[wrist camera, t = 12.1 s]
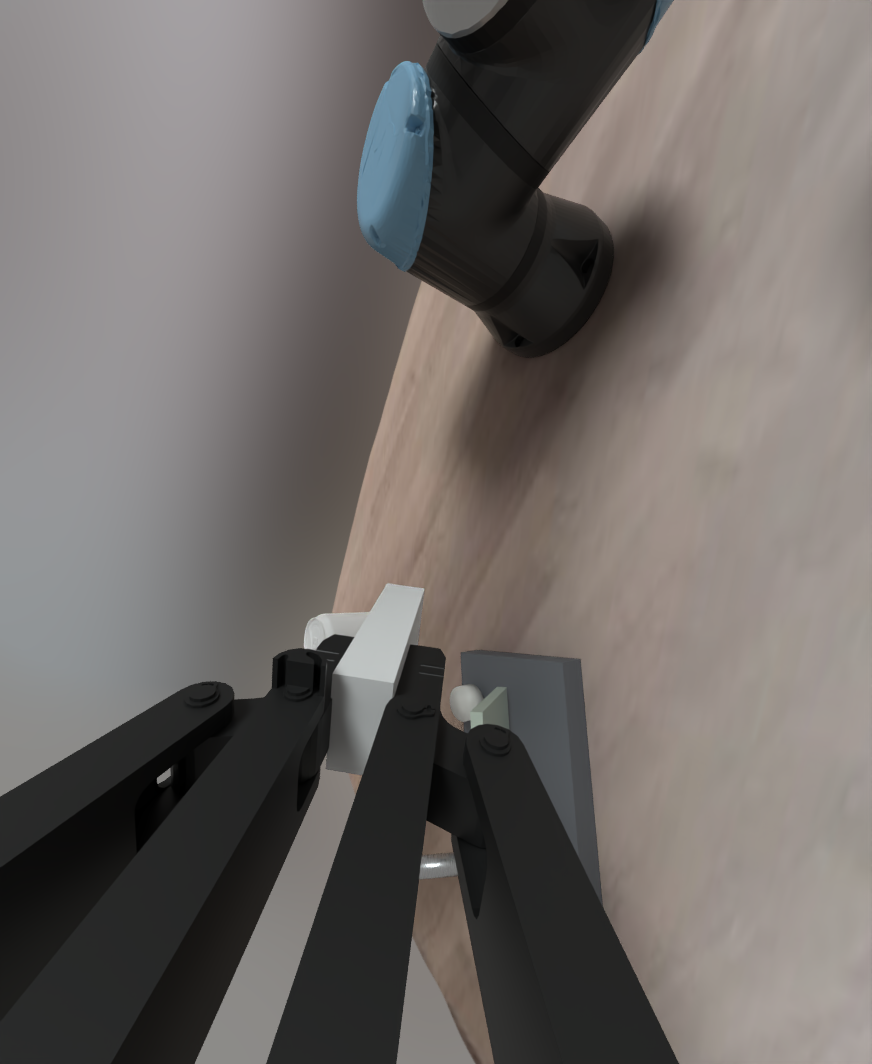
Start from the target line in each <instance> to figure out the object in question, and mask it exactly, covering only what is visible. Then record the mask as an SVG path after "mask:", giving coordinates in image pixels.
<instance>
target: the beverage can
mask: <svg viewBox="0 0 872 1064" xmlns="http://www.w3.org/2000/svg"><path fill="white" fill-rule="evenodd" d="M369 613H370V612H356V613H332V614H321V615H318V616H317V617H316V618H311V620H309V622H308V624H307V626H306V630H305V635H304V649H312V650H316V649H317V647H318V646H319V645H320V643H321V642H322V641H323V640H324V639H326V638H328V637H330V636H332V635H334V634H337V635H344V636H351V637H355V636H356V634H357V632H358V631H359V629H360V627H361V626H362V624H363V622H364V621H365V619H366V618H367V616H368V614H369Z"/></svg>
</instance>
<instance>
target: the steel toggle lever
mask: <svg viewBox="0 0 872 1064" xmlns="http://www.w3.org/2000/svg"><path fill="white" fill-rule="evenodd" d="M455 876H458V873H457V868H456V862H455V857H454V852H453V853H440V854H427V855H422V859H421V867H420V875H419V879H431V878H443V877H455Z"/></svg>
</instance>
